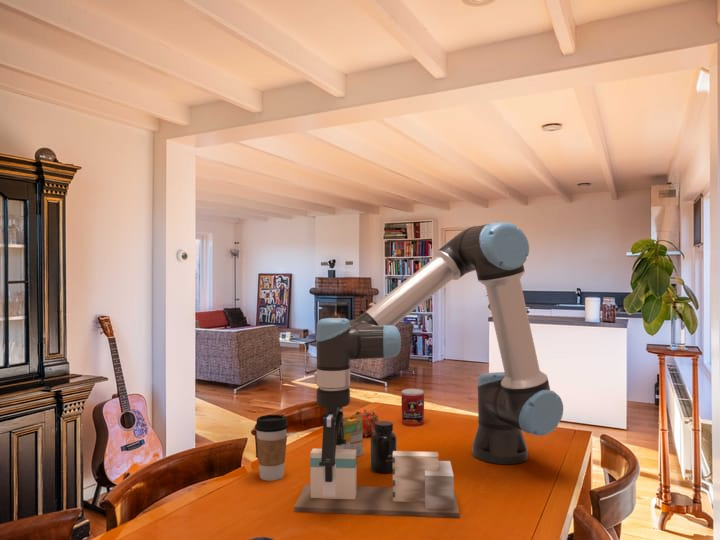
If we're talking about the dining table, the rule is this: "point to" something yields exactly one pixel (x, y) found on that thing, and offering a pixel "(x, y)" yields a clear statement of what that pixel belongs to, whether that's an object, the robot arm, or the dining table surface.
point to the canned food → (412, 407)
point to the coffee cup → (271, 446)
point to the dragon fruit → (367, 421)
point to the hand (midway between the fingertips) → (333, 483)
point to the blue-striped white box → (344, 474)
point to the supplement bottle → (383, 447)
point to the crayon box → (353, 434)
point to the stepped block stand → (398, 491)
